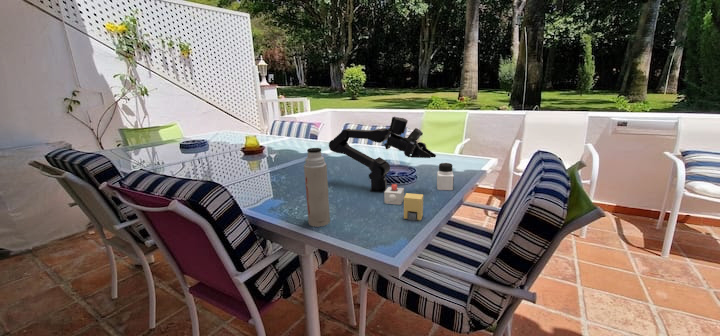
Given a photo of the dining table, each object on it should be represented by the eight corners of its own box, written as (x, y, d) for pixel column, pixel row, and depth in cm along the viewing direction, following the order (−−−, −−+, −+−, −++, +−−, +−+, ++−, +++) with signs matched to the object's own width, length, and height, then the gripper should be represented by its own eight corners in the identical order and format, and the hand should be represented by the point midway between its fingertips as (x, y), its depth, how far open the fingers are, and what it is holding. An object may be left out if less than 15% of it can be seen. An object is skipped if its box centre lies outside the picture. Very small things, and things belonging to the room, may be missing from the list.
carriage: (403, 218, 117) (403, 197, 115) (406, 213, 122) (406, 193, 120) (421, 220, 115) (421, 199, 113) (422, 214, 120) (423, 194, 118)
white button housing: (384, 203, 133) (384, 192, 131) (388, 197, 139) (388, 186, 138) (400, 205, 130) (400, 193, 129) (404, 198, 137) (404, 188, 136)
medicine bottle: (453, 190, 145) (454, 165, 142) (437, 190, 147) (438, 165, 144) (451, 185, 152) (453, 161, 149) (436, 185, 154) (437, 161, 150)
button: (391, 190, 133) (390, 185, 132) (392, 188, 135) (392, 183, 135) (396, 190, 132) (396, 186, 132) (397, 188, 134) (397, 184, 134)
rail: (408, 220, 116) (408, 212, 116) (414, 204, 131) (414, 197, 130) (416, 220, 115) (416, 213, 115) (422, 204, 130) (422, 198, 129)
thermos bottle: (307, 227, 113) (301, 151, 106) (309, 218, 121) (303, 147, 113) (329, 226, 114) (325, 150, 106) (330, 217, 121) (325, 145, 114)
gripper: (400, 124, 128) (436, 138, 122) (413, 127, 145) (444, 139, 139) (390, 149, 130) (425, 164, 125) (404, 149, 147) (435, 162, 141)
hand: (433, 156), depth 132 cm, fingers open, 9 cm apart
